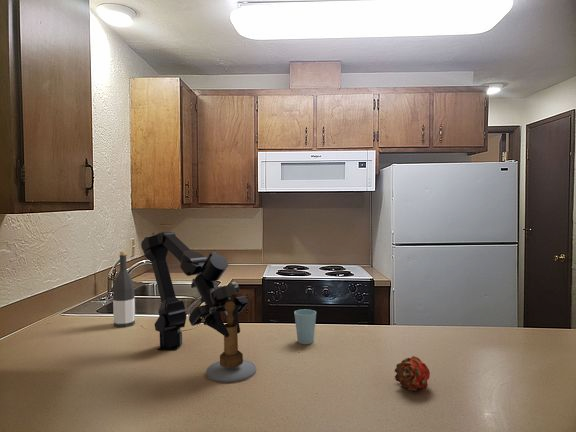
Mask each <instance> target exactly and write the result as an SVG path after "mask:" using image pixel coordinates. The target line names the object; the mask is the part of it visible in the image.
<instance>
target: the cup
mask: <svg viewBox="0 0 576 432" xmlns="http://www.w3.org/2000/svg"><path fill="white" fill-rule="evenodd" d="M293 313H294V314H293V315H294V321H295V328H296V329H295V330H296V331H295V332H296V338H297V339H296V340H297V342H298V344H301V345H312V344H313V343H314V340H315V331H316V330H315V329H316V319H317V311H316V310H312V309H306V308H304V309H298V310H294V312H293Z"/></svg>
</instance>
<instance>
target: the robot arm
mask: <svg viewBox="0 0 576 432" xmlns="http://www.w3.org/2000/svg"><path fill="white" fill-rule="evenodd" d="M143 238H144V239H143V240H142V241H141V244H140V246H141V249H142V251H143V256H145V258H146V259H147V260H148V261H150V263H151V266H152V270H153V274H154V277H155V282H156V285H157V290H158V294H159V297H160V302H161V303H160V306H159V309H158V317H157V319H156V321H155V323H154V330H155V331H157V332H159V347H157V350H164V351H165V350H166V351H167V350H168V351H171V350H172V351H177V350H178V349H179V348H180V347H181V346H182V345H183V332H182V331H181V330H182V329H181V328H185V326H186V325H185V324H186V321H187V310H186V307H185V302H184V301H183V300H179V299H178V298H177V297H176V292H175V288H174V285H173V280H172V278H171V274H170V270H169V266H168V262H167V256H168V253H169V252H170V253H171V254H172V255H173V257H175V259H176V260H178V262H179V263H180V265H179V267H180V270H182V271H183V273H184V275H186V276H187V277H191V276H195V278H192V282H191V286H190V287H191V288H192V289H195V288H196V289H197V291H198V293H199V295H200V296H201V298H200V303H202V304H203V305H198V306H196V307H195V308H193V310H192V311H191V313H190V314H189V317H188V322H189V324H190V325H191V326H192V327H193V326H197V325H200V324H201V323H202V320H203V319H204V322H203V325H204V326H208V327H209V328H210V329H211V328H212V329H213V330H215V331H217V332H218V333H220V334H221V335H222V336H223V337H224V336H225V337H228V336H229V333H228V331H227V329H226V327H225V323H224V320H222V319H223V318H222V317H221V313H225V315H226V316H225V317H224V319H225V320H226V317H227V311H226V310H225V307H224V306H225V303H226V302H227V301H231V297H233V296H236V297H234V298H233V300H232V301H233V302H234V303H235V309H234V311H233V313H232V314H233V316H234V321H233V323H236V324H237V334H240V332H241V327H240V322H239V314H240V313H241V312H242V311H243V310H244V309H245V307H247V305H248V304H249V303H250V300H249V299H248V298H247V296H246V295H241V296H237V295H238V293H239V292H240V287H239V284H238V283H237V281H231V282H230V283H228V285H223V286H221V285H219V286H218V284H217V282H218V281H219V279H221V277H222V276H223V274H224V273H225V272H226V271H227V269H228V267H229V262H228V260H227V259H226V258H225V257H223V256H222V255H219V254H218V252H215V251H214V252H213V251H212V252H210V253H209V255H208V257H206V256H205V255H204V254H202V253H200V252H198V251H197V252H196V251H193V250H191V248H189V247H188V246H187V245H186V244H185V243H184V242H182V240H181V239H180V238H178V237H177V236H176V233H175V232H173V231H161V232H158V233H157V234H154V235H152V236H145V237H143ZM202 318H203V319H202Z"/></svg>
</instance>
